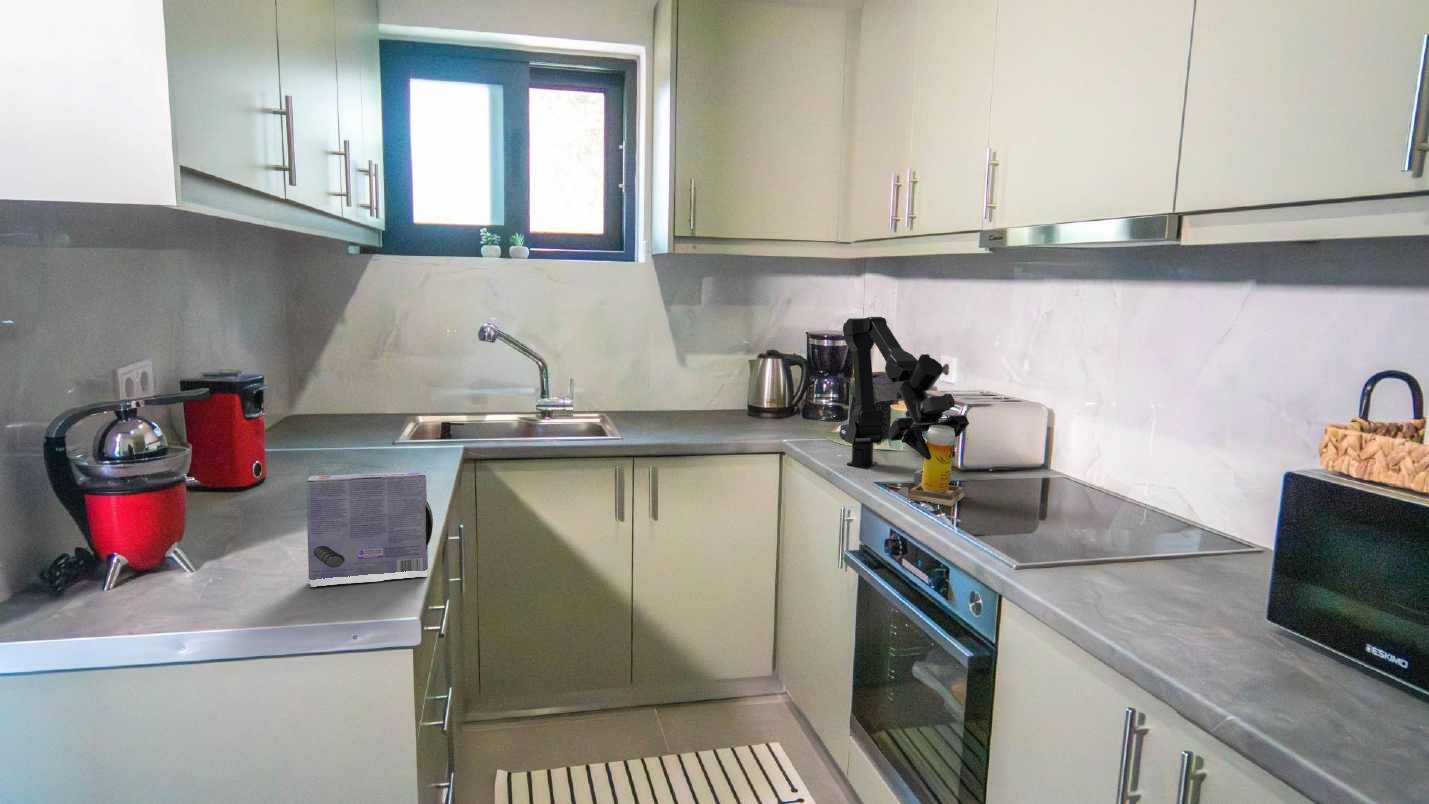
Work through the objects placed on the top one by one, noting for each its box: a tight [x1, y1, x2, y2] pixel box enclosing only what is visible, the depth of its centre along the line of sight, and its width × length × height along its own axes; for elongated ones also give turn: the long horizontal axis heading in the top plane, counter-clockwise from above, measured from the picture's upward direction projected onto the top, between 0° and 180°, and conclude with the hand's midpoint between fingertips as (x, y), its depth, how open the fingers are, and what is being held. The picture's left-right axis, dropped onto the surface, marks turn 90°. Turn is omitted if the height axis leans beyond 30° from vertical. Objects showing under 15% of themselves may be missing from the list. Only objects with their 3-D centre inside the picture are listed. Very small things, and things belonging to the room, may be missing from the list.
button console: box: [913, 467, 952, 486], centre depth 212 cm, size 7×7×3 cm
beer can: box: [921, 425, 956, 494], centre depth 197 cm, size 6×6×15 cm
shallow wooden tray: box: [907, 483, 965, 507], centre depth 198 cm, size 10×10×2 cm
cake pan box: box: [306, 471, 434, 580], centre depth 142 cm, size 19×5×18 cm, turn 109°
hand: (941, 458), depth 196 cm, fingers open, 6 cm apart
